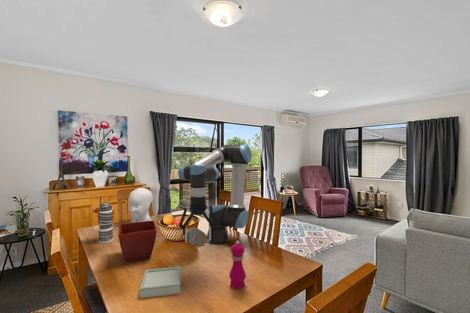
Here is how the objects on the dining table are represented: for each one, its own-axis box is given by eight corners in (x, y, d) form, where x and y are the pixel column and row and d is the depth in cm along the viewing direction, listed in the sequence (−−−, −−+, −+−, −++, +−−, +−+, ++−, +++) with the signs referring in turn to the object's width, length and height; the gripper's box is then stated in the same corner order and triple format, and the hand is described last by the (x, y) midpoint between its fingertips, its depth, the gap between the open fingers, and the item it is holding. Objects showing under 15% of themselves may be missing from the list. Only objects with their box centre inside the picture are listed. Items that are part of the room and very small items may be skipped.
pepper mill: (228, 281, 110) (229, 238, 110) (244, 280, 111) (244, 237, 110) (229, 290, 103) (230, 244, 102) (246, 289, 103) (246, 243, 103)
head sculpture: (119, 228, 184) (119, 189, 184) (136, 220, 207) (136, 185, 206) (143, 230, 181) (143, 190, 180) (157, 221, 203) (157, 186, 203)
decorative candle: (114, 241, 158) (114, 203, 157) (98, 244, 153) (98, 205, 152) (112, 237, 166) (112, 201, 165) (97, 239, 160) (97, 202, 160)
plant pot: (118, 266, 124) (118, 234, 123) (119, 252, 141) (119, 223, 141) (156, 259, 131) (156, 229, 131) (153, 247, 149) (153, 220, 148)
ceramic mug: (194, 249, 111) (195, 233, 111) (186, 244, 117) (186, 228, 117) (213, 244, 118) (213, 229, 118) (204, 239, 124) (204, 224, 124)
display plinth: (180, 274, 116) (180, 266, 116) (180, 293, 100) (180, 284, 100) (145, 277, 112) (145, 269, 112) (139, 298, 97) (139, 288, 97)
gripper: (220, 193, 123) (220, 236, 123) (173, 195, 118) (173, 239, 118) (222, 196, 116) (222, 241, 116) (173, 198, 110) (173, 245, 111)
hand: (198, 240), depth 117 cm, fingers closed on ceramic mug, 11 cm apart
